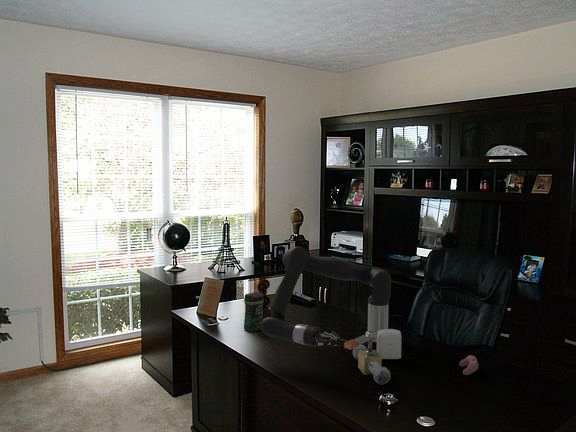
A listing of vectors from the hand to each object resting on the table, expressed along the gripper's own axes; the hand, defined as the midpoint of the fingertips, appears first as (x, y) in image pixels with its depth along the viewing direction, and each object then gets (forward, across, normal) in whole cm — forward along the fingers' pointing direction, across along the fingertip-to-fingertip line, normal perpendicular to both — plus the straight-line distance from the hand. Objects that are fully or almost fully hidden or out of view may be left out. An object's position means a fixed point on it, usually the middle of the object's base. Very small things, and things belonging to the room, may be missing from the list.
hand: (347, 343), depth 181 cm
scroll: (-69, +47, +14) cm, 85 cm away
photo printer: (+7, +28, +14) cm, 32 cm away
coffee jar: (-62, +29, +14) cm, 70 cm away
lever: (+3, +6, +1) cm, 7 cm away
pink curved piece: (+38, +32, +14) cm, 52 cm away
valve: (+4, +12, +14) cm, 19 cm away
